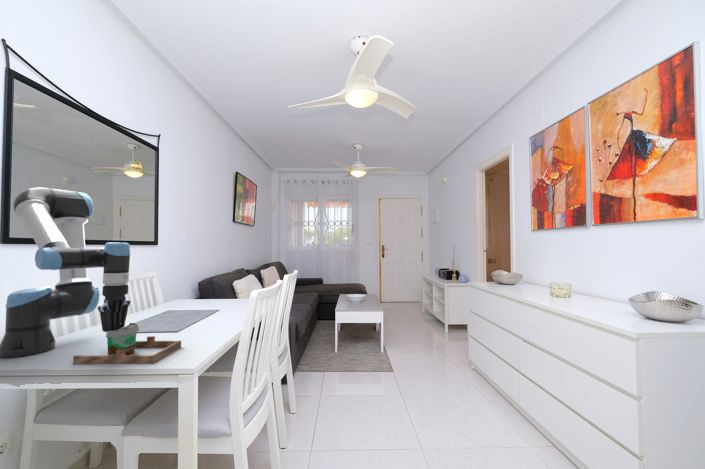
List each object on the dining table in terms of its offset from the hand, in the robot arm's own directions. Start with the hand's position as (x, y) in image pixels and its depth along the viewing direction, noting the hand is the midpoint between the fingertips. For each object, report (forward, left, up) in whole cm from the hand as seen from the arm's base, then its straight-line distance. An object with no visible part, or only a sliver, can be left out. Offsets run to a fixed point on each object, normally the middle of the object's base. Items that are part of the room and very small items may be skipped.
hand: (112, 349), depth 112 cm
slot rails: (+5, +2, -2) cm, 6 cm away
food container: (+4, +2, -2) cm, 5 cm away
